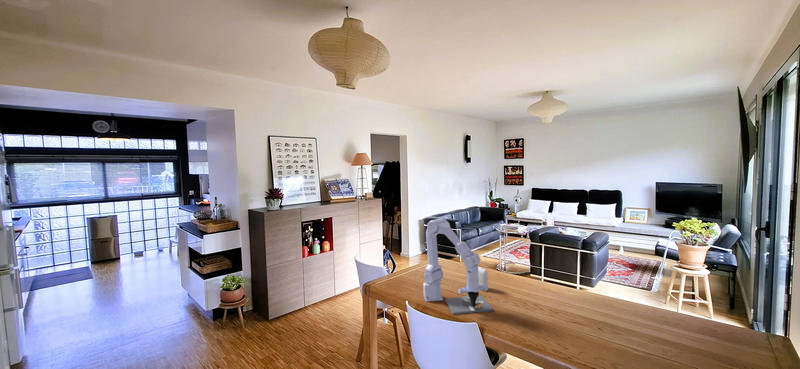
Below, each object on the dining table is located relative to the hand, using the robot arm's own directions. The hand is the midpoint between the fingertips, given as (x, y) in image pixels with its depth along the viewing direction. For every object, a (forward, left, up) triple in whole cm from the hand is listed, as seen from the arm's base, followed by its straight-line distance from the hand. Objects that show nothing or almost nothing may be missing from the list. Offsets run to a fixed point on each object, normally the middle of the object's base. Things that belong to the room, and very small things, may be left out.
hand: (473, 305), depth 154 cm
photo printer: (+12, +26, -3) cm, 29 cm away
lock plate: (-1, +6, -3) cm, 7 cm away
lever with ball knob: (+1, +3, 0) cm, 3 cm away
